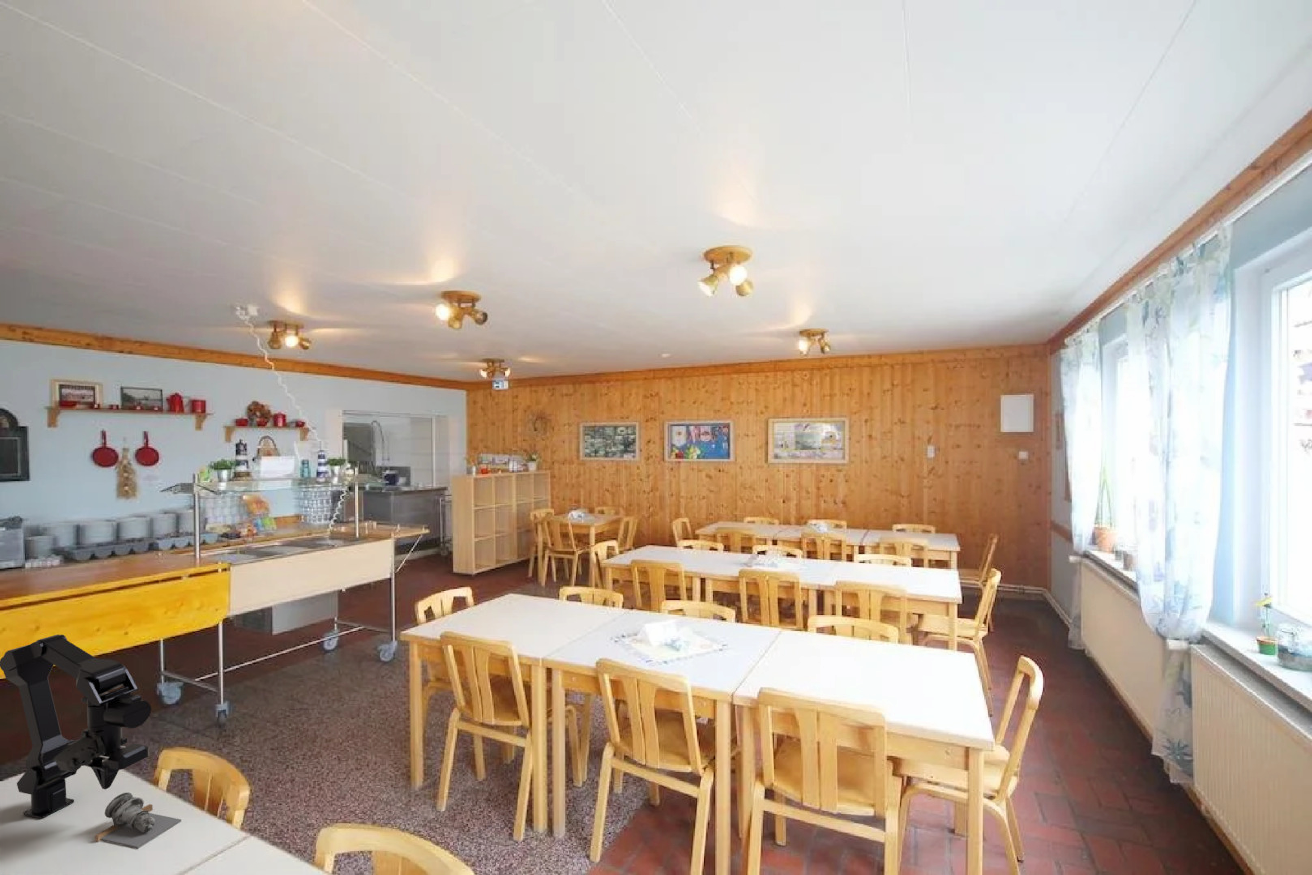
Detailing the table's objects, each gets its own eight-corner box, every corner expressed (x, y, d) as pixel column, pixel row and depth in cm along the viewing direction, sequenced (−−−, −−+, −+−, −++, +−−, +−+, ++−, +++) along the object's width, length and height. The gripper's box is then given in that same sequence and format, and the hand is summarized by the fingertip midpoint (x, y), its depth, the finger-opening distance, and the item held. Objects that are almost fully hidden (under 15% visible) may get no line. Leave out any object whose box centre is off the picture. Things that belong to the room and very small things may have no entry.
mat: (100, 840, 129) (100, 838, 129) (145, 813, 138) (145, 812, 138) (138, 848, 126) (137, 846, 126) (181, 821, 135) (181, 819, 135)
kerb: (94, 840, 129) (94, 835, 129) (149, 809, 139) (149, 804, 139) (98, 841, 129) (97, 836, 129) (152, 809, 139) (152, 804, 139)
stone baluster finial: (102, 825, 132) (136, 849, 128) (103, 802, 131) (137, 827, 127) (133, 806, 138) (167, 830, 134) (134, 785, 136) (168, 808, 133)
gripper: (31, 733, 129) (33, 803, 130) (92, 745, 125) (94, 817, 125) (91, 709, 140) (92, 774, 141) (149, 719, 135) (151, 786, 136)
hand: (106, 788), depth 135 cm, fingers closed
